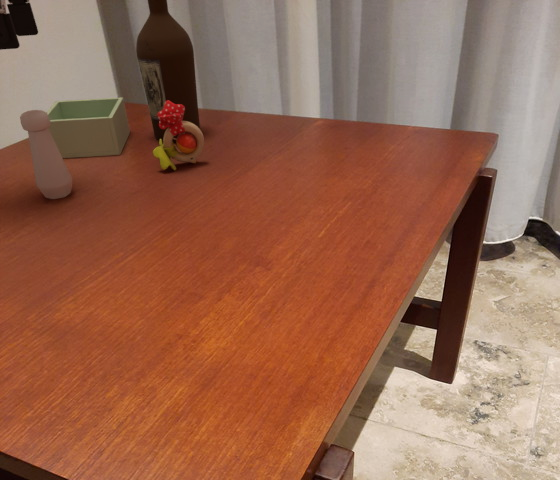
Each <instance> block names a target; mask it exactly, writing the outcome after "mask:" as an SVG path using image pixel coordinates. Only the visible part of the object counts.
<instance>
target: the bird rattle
mask: <svg viewBox="0 0 560 480" xmlns="http://www.w3.org/2000/svg"><path fill="white" fill-rule="evenodd" d="M184 111H185V107H184V106H183V105H182V104H174V103H172V102H171V101H169V100H167V101H166V102H165V105H164V108H163V110H162V111H160V112H158V114H157V117H158V118H159V120H160V121H159V127H160V128H161V129H165V128H167V127H168V128H167V129H166V131H165V134H164V138H163V141H162V140H161V139H160V140H158V144H159V145H158V146H156V147H154V149H153V150H152V155H153V156H154V158H155V159H157V160H159V165H160V168H161V169H162V170H163V171H165V170H168V168H169V167H170V168H171V170H173V171H174V172H175V171H177V167H176V165H175V164H174V162H173V161H172V160H171V159H173V160H175V161H177V162H181V163H191V164H194V165H195V164H197V161H198V158H200V156H201V154H202V153H203V151H204V148H205V137H204V134H203V132H202V130H201V128H200V129H199V128H198V127H197V126H196V125H194V124H193V123H191V122H188V121H182V119H183V115H184ZM186 131H187V132H186ZM178 134H179V135H178ZM176 135H178V137H177V139H175V138H173V137H174V136H176ZM172 139H175V140H177V141H176V142H172ZM175 144H176V145H175Z"/></svg>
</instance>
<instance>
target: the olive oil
mask: <svg viewBox="0 0 560 480" xmlns="http://www.w3.org/2000/svg"><path fill="white" fill-rule="evenodd" d="M147 5H148V10H149V14H148V17H147V19H146V21H145V22H144V24H143V26H142V28H141V29H140V31H139V33H138V35H137V37H136V44H135V45H136V47H135V50H136V51H135V53H136V59H137V63H138V68H139V71H140V76H141V81H142V84H143V88H144V93H145V98H146V103H147V106H148V111H149V115H150V116H149V117H150V121H151V125H152V130H153V135H154V138H155V139H156V140H157V141H159V140H160V139H161V140H162V142H163V138H164V134H165V131H166V129H167V128H168V127H167V128H165V129H161V128H160V127H159V121H160V120H159V118H158V117H157V114H158V112H160V111H162V110H163V108H164V105H165V102H166V101H167V100H169V101H171V102H172V103H174V104H182V105H183V106H184V107H185V111H184V115H183V119H182V121H188V122H191V123H193V124H194V125H196V126H197V127H198V128H199V129H200V130H201V123H200V114H199V104H198V92H197V79H196V66H195V53H194V52H195V51H194V45H193V42H192V40H191V37H190V35H189V34H188V32H187V31H186V30H185V28H184V27H183V26H182V25H181V24H180V23H179V22H178V21H177V20H176V19H175V18H174V17H173V16H172V15H171V14H170V12H169V6H168V0H147ZM186 132H187V131H186ZM178 135H179V134H178ZM178 135H176V136H174V137H173V138H175V139H177V137H178ZM175 139H172V142H173V143H176V141H177V140H175Z"/></svg>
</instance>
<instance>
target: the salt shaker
mask: <svg viewBox="0 0 560 480" xmlns="http://www.w3.org/2000/svg"><path fill="white" fill-rule="evenodd" d="M46 112H47V111H45V110H42V109H32V110H27V111H25V112H23V113H21V115H19V120H20V125H21V127H22V129H23V130H24V131H26V132H27V134H28V141H29V148H30V155H31V160H32V161H31V162H32V166H33V167H32V168H33V172H34V180H35V181H34V182H35V186H36V187H37V189H38V190H39V191H40V192H41V194H43V197H44V198H46V199H50V200H57V199H62V198H63V199H64V198H65V197H67V196H69V195H70V194H72V187H73V177H72V175H71V172H70V170H69V169H68V166H67V165H66V163H65V160H64V158H62V156H61V154H60V152H59V150H58V148H57V146H56V144H55V142H54V140H53V137H52V135H51V133H50V131H49V129H48V128H49V127H50V126H51V123H50V119H49V116H48V114H47V113H46Z"/></svg>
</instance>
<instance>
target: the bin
mask: <svg viewBox="0 0 560 480" xmlns="http://www.w3.org/2000/svg"><path fill="white" fill-rule="evenodd" d="M126 109H127V108H126V104H125V99H124V96H123V97H106V98H88V99H86V98H85V99H69V100H68V99H67V100H55V101H54V103H53V104H52V105H51V106H50V107H49V109H48V110H47V111H45V112H46V113H47V114H48V116H49V119H50V123H51V126H50V127H49V128H48V129H49V131H50V133H51V135H52V137H53V140H54V142H55V144H56V146H57V148H58V150H59V152H60V154H61V156H62V158H63V159H75V158H90V157H91V158H92V157H93V158H94V157H106V156H107V157H109V156H120V155H121V154H122V152H123V149H124V147H125V146H126V143H127V141H128V138H129V136H130V133H131V128H130V123H129V119H128V113H127V110H126Z"/></svg>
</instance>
